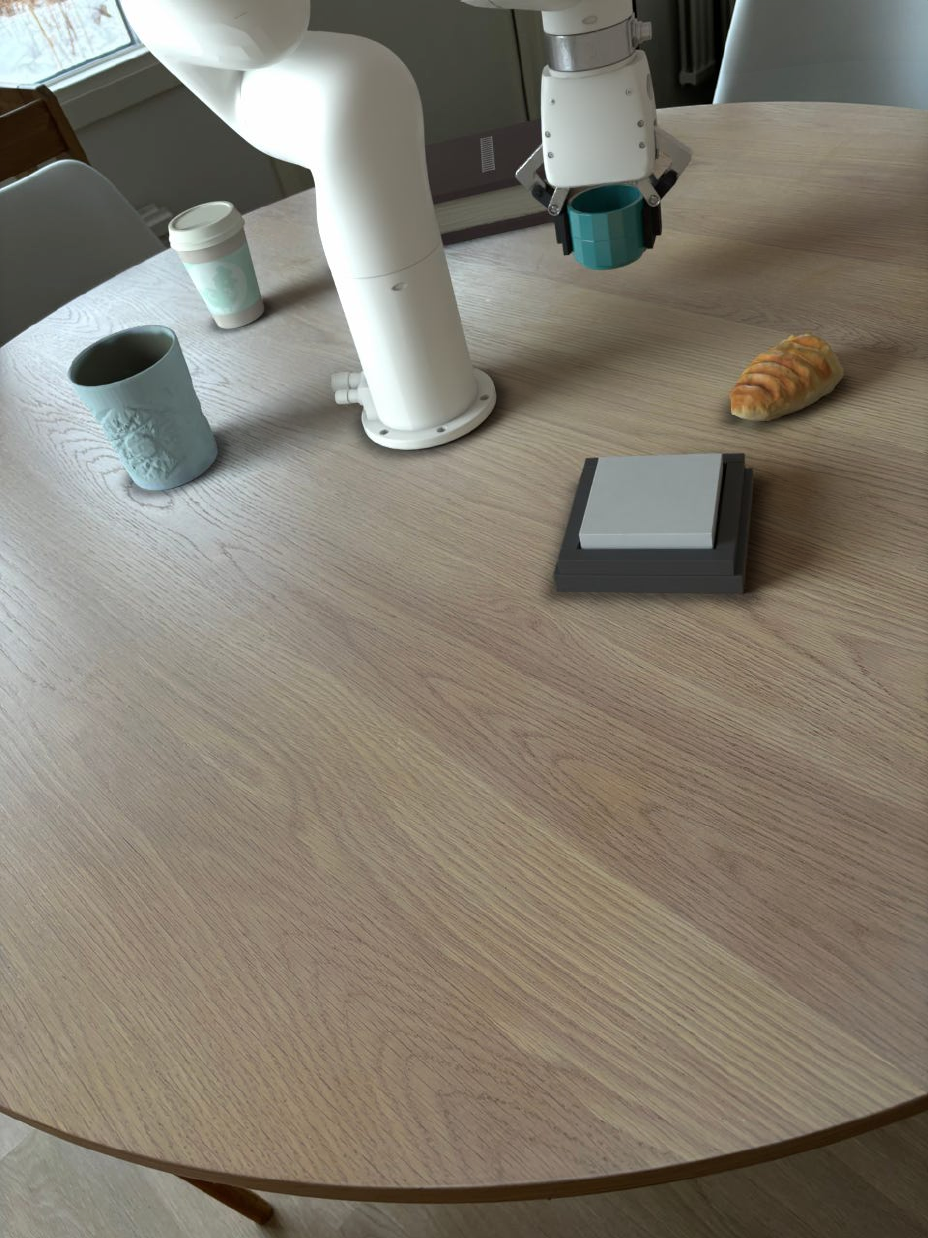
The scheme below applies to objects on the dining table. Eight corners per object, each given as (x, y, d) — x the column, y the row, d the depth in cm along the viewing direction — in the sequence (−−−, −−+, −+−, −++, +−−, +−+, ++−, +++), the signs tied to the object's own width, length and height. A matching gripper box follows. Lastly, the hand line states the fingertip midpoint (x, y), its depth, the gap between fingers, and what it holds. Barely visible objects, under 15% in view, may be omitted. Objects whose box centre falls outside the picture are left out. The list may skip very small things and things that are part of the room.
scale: (555, 591, 72) (549, 560, 70) (583, 488, 80) (578, 457, 78) (743, 594, 68) (742, 561, 66) (753, 484, 76) (752, 451, 74)
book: (556, 158, 132) (549, 110, 128) (569, 217, 118) (561, 166, 114) (350, 205, 136) (337, 160, 132) (338, 268, 122) (323, 220, 118)
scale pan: (581, 551, 71) (578, 534, 70) (601, 473, 77) (599, 456, 76) (713, 551, 68) (712, 533, 67) (723, 470, 74) (722, 452, 73)
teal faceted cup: (568, 274, 98) (560, 217, 94) (581, 242, 103) (574, 187, 99) (643, 269, 95) (638, 210, 92) (652, 237, 100) (648, 179, 97)
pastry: (774, 438, 80) (773, 396, 77) (708, 413, 84) (705, 373, 82) (849, 382, 83) (851, 340, 80) (782, 360, 87) (781, 320, 85)
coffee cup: (192, 335, 117) (148, 235, 109) (229, 298, 123) (190, 200, 115) (252, 335, 114) (211, 232, 106) (288, 297, 119) (252, 196, 111)
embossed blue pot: (192, 423, 102) (141, 315, 94) (247, 451, 96) (197, 337, 88) (107, 477, 98) (46, 369, 90) (159, 510, 92) (99, 396, 84)
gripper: (698, 18, 87) (705, 222, 98) (502, 46, 92) (531, 237, 104) (689, 44, 81) (697, 256, 93) (483, 72, 87) (515, 270, 99)
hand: (609, 244), depth 98 cm, fingers closed on teal faceted cup, 7 cm apart
